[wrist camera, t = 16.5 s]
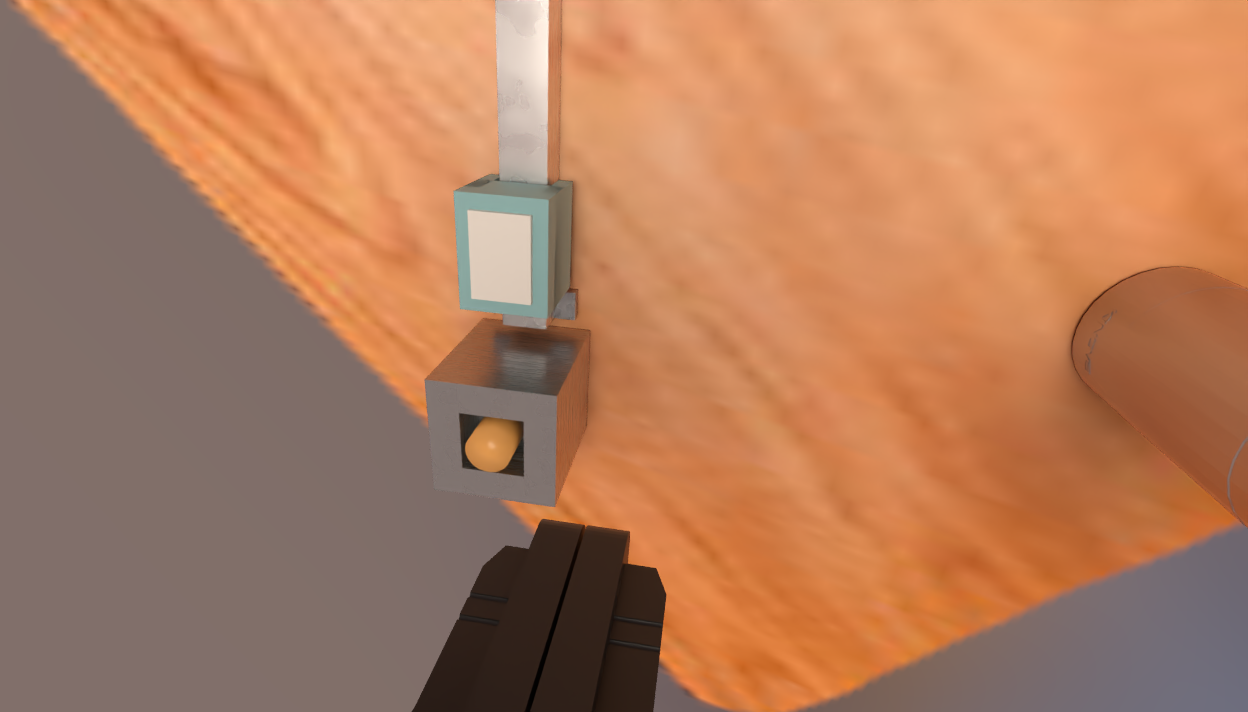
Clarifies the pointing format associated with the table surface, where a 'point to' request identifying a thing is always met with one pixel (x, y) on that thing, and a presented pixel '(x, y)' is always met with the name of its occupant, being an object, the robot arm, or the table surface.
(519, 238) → the carriage
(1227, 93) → the table surface
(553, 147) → the rail
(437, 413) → the cabinet
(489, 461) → the button
